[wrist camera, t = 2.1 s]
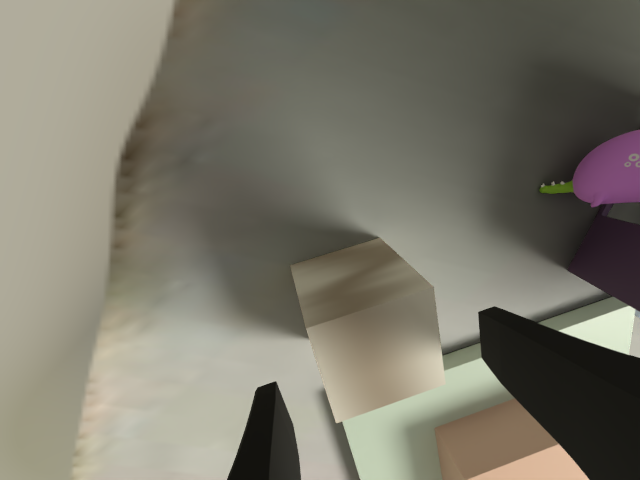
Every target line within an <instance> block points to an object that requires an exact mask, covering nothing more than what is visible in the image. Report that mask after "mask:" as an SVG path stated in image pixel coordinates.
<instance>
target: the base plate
mask: <svg viewBox="0 0 640 480" xmlns="http://www.w3.org/2000/svg"><path fill="white" fill-rule="evenodd" d="M635 310H636V309H634V308H632V307H630V306H629V305H627V304H625V303H623V302H622V301H620V300H618V299H616V298H615V297H610V298H607V299H604V300H601V301H599V302H596V303H593V304H590V305H587V306H584V307H581V308H578V309H576V310H573V311H570V312H567V313H564V314H561V315H558V316H555V317H553V318H550V319H547V320H544V321H541V322H538V323H539V324H542V325H544V326H547V327H549V328H552V329H555V330H557V331H560V332H563V333H565V334H568V335H571V336H573V337H576V338H579V339H582V340H585V341H587V342H590V343H593V344H596V345H599V346H602V347H605V348H608V349H611V350H615V351H618V352H621V353H624V354H628V355H629V349H630V343H631V336H632V330H633V323H634V316H635ZM442 358H443V366H444V374H445V382H446V384H445V385H442V386H440V387H437V388H434V389H431V390H428V391H426V392H423V393H420V394H417V395H414V396H412V397H409V398H406V399H403V400H400V401H398V402H395V403H392V404H389V405H386V406H384V407H381V408H378V409H375V410H372V411H370V412H367V413H364V414H361V415H358V416H356V417H353V418H350V419H347V420H344V421H342V422H343V426H344V429H345V432H346V435H347V439H348V442H349V445H350V448H351V452H352V455H353V458H354V461H355V465H356V468H357V471H358V474H359V478H360V480H442V474H441V467H440V461H439V454H438V448H437V441H436V435H435V428H436V427H438V426H441V425H444V424H446V423H449V422H452V421H455V420H457V419H460V418H463V417H465V416H468V415H471V414H474V413H476V412H479V411H482V410H484V409H487V408H490V407H493V406H495V405H498V404H501V403H503V402H506V401H509V400H512V399H514V397H513V396H512V395H511V394H510V393H509V392H508V391H507V389H506V388H505V387H504V386H503V385H502V384H501V383H500V382H499V380H498V379H497V378H496V376H495V375H494V374H493V373H492V371H491V370H490V369H489V367H488V366H487V364H486V363H485V362H484V360H483V359H482V358H481V344H480V343H478V344H475V345H472V346H469V347H466V348H463V349H461V350H458V351H455V352H452V353H449V354H446V355H443V356H442Z"/></svg>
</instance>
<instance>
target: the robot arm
mask: <svg viewBox="0 0 640 480" xmlns="http://www.w3.org/2000/svg"><path fill="white" fill-rule="evenodd" d="M478 314H479V329H480V344H481V358H482V359H483V360H484V362H485V363H486V364H487V366H488V367H489V369H490V370H491V371H492V373H493V374H494V375H495V376H496V378H497V379H498V380H499V382H500V383H501V384H502V385H503V386H504V387H505V388H506V389H507V391H508V392H509V393H510V394H511V395H512V396H513V397H514V398H515V399H516V400H517V401H518V402H519V403H520V404H521V405H522V406H523V407H524V408H525V409H526V410H527V411H528V412H529V414H530V415H531V416H532V417H533V418H534V419H535V420H536V421H537V422H538V423H539V424H540V425H541V426H542V427H543V428H544V429H545V430H546V431H547V432H548V433H549V434H550V435H551V436H552V437H553V438H554V439H555V440H556V441H557V443H558V444H559V445H560V446H561V447H562V448H563V449H564V450H565V451H566V452H567V453H568V455H569V456H570V457H571V458H572V459H573V460H574V461H575V463H576V464H577V465H578V466H579V467H580V469H581V470H582V471H583V472H584V474H585V475H586V476H587V477H588V478H589V480H640V358H638V357H634V356H631V355H628V354H624V353H621V352H618V351H615V350H611V349H608V348H605V347H602V346H599V345H596V344H593V343H590V342H587V341H585V340H582V339H579V338H576V337H573V336H571V335H568V334H565V333H563V332H560V331H557V330H555V329H552V328H549V327H547V326H544V325H542V324H539V323H536V322H534V321H531V320H529V319H526V318H524V317H521V316H519V315H516V314H514V313H511V312H508V311H506V310H503V309H500V308H497V307H492V308H489V309H486V310H483V311H480V312H478ZM635 316H637V317H639V318H640V312H639V311H638V310H635ZM227 480H301V475H300V463H299V455H298V449H297V443H296V438H295V432H294V427H293V423H292V421H291V418H290V416H289V413H288V411H287V408H286V405H285V403H284V400H283V398H282V395H281V393H280V390H279V388H278V385H277V382H276V381H275V382H272V383H269V384H266V385H264V386H261V387H258V388H257V390H256V391H255V396H254V400H253V403H252V407H251V411H250V414H249V418H248V421H247V425H246V428H245V431H244V434H243V437H242V440H241V443H240V446H239V449H238V452H237V455H236V458H235V460H234V463H233V466H232V468H231V471H230V473H229V476H228V478H227Z"/></svg>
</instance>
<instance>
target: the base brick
mask: <svg viewBox="0 0 640 480" xmlns="http://www.w3.org/2000/svg"><path fill="white" fill-rule="evenodd" d="M435 435H436V441H437V448H438V454H439V461H440V467H441V474H442V480H589V478H588V477H587V476H586V475H585V474H584V472H583V471H582V470H581V469H580V467H579V466H578V465H577V464H576V463H575V461H574V460H573V459H572V458H571V457H570V456H569V455H568V453H567V452H566V451H565V450H564V449H563V448H562V447H561V446H560V445H559V444H558V443H557V441H556V440H555V439H554V438H553V437H552V436H551V435H550V434H549V433H548V432H547V431H546V430H545V429H544V428H543V427H542V426H541V425H540V424H539V423H538V422H537V421H536V420H535V419H534V418H533V417H532V416H531V415H530V414H529V412H528V411H527V410H526V409H525V408H524V407H523V406H522V405H521V404H520V403H519V402H518V401H517V400H516V399H515V398H514V399H512V400H509V401H506V402H503V403H501V404H498V405H495V406H493V407H490V408H487V409H484V410H482V411H479V412H476V413H474V414H471V415H468V416H465V417H463V418H460V419H457V420H455V421H452V422H449V423H446V424H444V425H441V426H438V427H436V428H435Z"/></svg>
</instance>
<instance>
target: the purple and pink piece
mask: <svg viewBox="0 0 640 480" xmlns="http://www.w3.org/2000/svg"><path fill="white" fill-rule="evenodd" d="M551 183H552V182H551ZM540 192H541V193H550V194H555V193H568V192H573V193H575V195H576V196H577V197H578V198H579V199H581V200H582V201H585V202H588V203H591V207H596V206H599V205H600V204H603V205H602V206H601V208H600V210H599V212H598V214H597V216H596V218H595V219H594V221H593V223H592V225H591V227H590V229H589V230H588V232H587V234H586V236H585V238H584V240H583V242H582V243H581V245H580V247H579V249H578V251H577V253H576V254H575V256H574V258H573V260H572V262H571V264H570V266H569V267H568V269H567V270H568V271H569V272H571V273H573V274H574V275H576V276H578V277H580V278H581V279H583V280H585V281H587V282H588V283H590V284H592V285H594V286H595V287H597V288H599V289H601V290H602V291H604V292H606V293H608V294H609V295H611V296H613V297H615V298H616V299H618V300H620V301H622V302H623V303H625V304H627V305H629V306H630V307H632V308H634V309H636V310H638V311H639V312H640V225H637V224H633V223H629V222H625V221H621V220H617V219H613V218H609V217H607V215H608V213H609V211H610V209H611V208H612V206H613V204H614V203H629V202H640V130H635V131H631V132H628V133H625V134H622V135H619V136H617V137H614V138H612V139H610V140H608V141H606V142H604V143H602V144H601V145H599V146H598V147H596V148H595V149H593V150H592V151H591V152H589V153H588V154H587V155H586V156H585V157H584V158H583V159H582V161H581V162H580V163H579V165H578V167H577V169H576V171H575V173H574V176H573V180H572V181H570V182H567V183H564V182H563V181H561V182H560V184H555V183H554V181H553V183H552V185H549V186H545V185H544V183H543V185H541V188H540Z"/></svg>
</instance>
